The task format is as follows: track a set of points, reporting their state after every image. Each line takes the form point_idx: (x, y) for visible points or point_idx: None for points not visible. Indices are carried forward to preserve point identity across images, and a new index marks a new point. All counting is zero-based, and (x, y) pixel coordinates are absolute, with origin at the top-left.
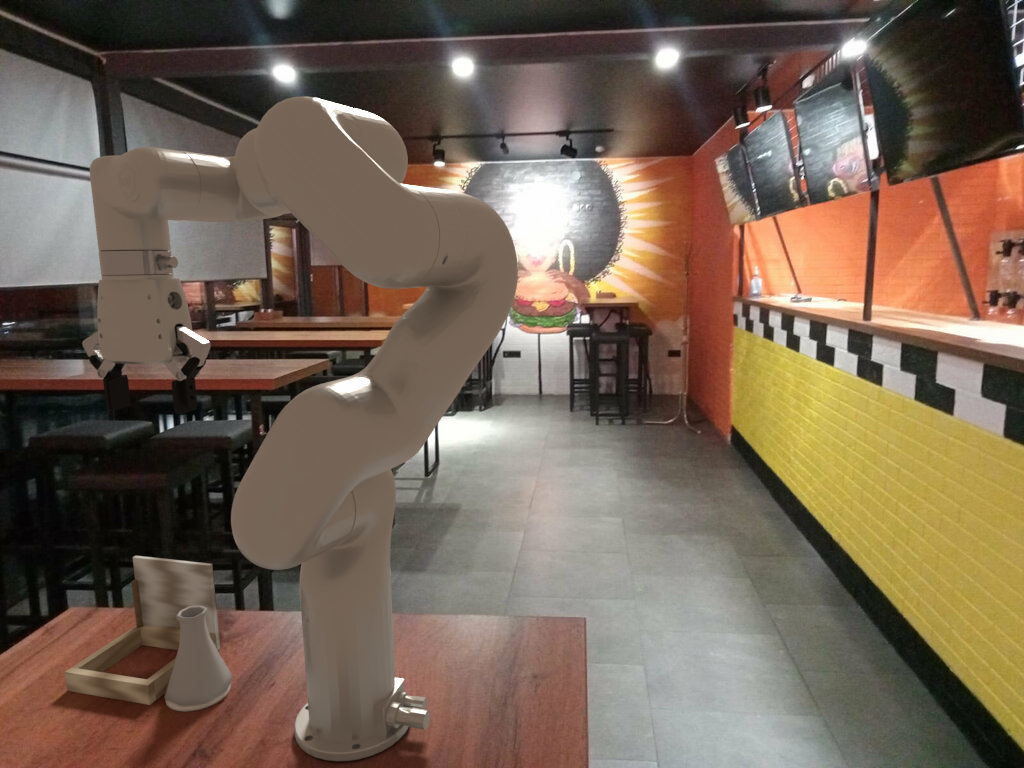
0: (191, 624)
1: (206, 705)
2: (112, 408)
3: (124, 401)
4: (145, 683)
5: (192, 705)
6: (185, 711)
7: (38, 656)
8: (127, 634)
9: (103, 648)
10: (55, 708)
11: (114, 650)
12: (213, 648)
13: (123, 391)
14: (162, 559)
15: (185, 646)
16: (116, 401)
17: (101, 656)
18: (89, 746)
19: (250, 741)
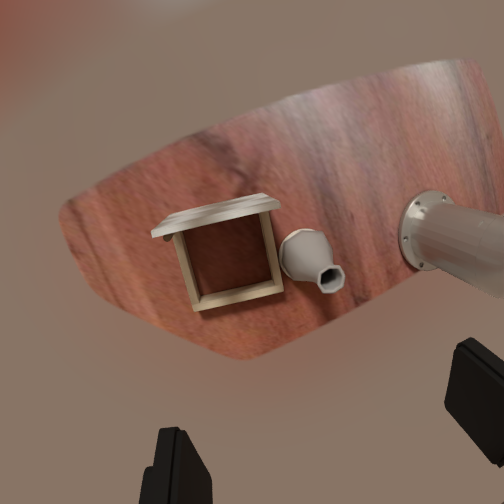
0: (335, 284)
1: None
2: (211, 481)
3: (191, 460)
4: (279, 290)
5: None
6: None
7: (114, 283)
8: (180, 244)
9: (184, 272)
10: (212, 321)
11: (188, 261)
12: (329, 255)
13: (189, 492)
14: (199, 223)
15: (322, 281)
16: (203, 486)
17: (192, 277)
18: (282, 333)
19: (381, 276)
